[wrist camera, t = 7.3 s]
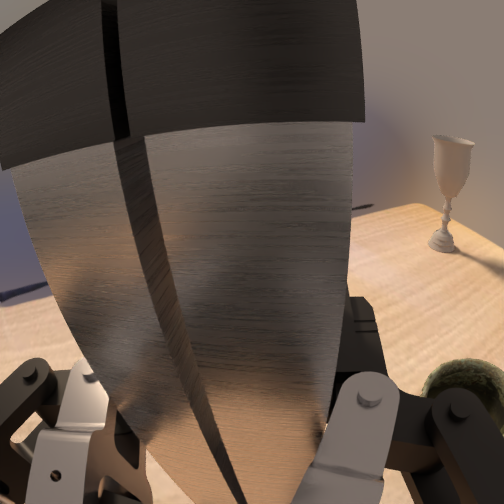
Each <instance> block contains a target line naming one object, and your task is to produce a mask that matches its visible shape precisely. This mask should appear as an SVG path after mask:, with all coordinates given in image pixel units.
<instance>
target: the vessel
mask: <svg viewBox="0 0 504 504" xmlns="http://www.w3.org/2000/svg"><path fill="white" fill-rule="evenodd" d="M449 388H463V389H466V390H469V391H471V392H472V393H474V394H475V395H476V396H477V397H478V398H479V399H480V401H481V402H482V404H483V405H484V407H485V408H486V410H487V411H488V413H489V414H490V416H491V417H492V419H493V421H494V422H495V424H496V425H497V427H498V428H499V430H500V432H501V433H502V435H503V436H504V372H503V371H502V370H501V369H499V368H498V367H496V366H495V365H493V364H491V363H489V362H486V361H483V360H479V359H471V358H469V359H457V360H452V361H449V362H446V363H443V364H441V365H440V366H439V367H438V368H436V369H435V370H434V371H433V372H432V373H431V374H430V375H429V376H428V378H427V380H426V382H425V384H424V387H423V388H422V391H423V392H422V394H421V395H420V397H426V398H431V399H435V398H436V397H437V396H438V395H439V394H440V393H441V392H443V391H444V390H447V389H449Z"/></svg>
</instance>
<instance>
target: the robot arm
mask: <svg viewBox="0 0 504 504" xmlns="http://www.w3.org/2000/svg"><path fill="white" fill-rule="evenodd" d="M34 412H36V413H37V414H38V415H39V416H40V417H41V418H42V420H43V421H42V422H41V423H40V424H39V425H38V426H37V427H36V428H35V429H34V430H33V431H32V432H31V433H30V434H29V435H28V437H27V438H26V439H25V440H24V441H23V442H21V443H13V442H12V441H11V440H10V438H11V436H12V435H13V434H14V433H15V431H16V430H17V429H18V428H19V427H20V426H21V425H22V424H23V423H24V422H25V421H26V420H27V419H28V418H29V417H30V416H31V415H32V414H33V413H34ZM326 423H328V425H327V428H326V430H325V433H324V435H323V438H322V440H321V443H320V445H319V448H318V450H317V453H316V455H315V457H314V459H313V461H312V463H311V464H310V465H309V466H308V468H307V470H306V472H305V474H304V476H303V478H302V480H301V483H300V485H299V487H298V489H297V491H296V493H295V495H294V497H293V499H292V501H291V503H290V504H379V502H380V499H381V496H382V492H383V487H384V479H383V471H384V468H388V469H393V470H398V471H401V474H402V476H403V478H404V481H405V483H406V485H407V487H408V490H409V492H410V494H411V497H412V499H413V501H414V504H504V436H503V435H502V433H501V432H500V430H499V428H498V427H497V425H496V424H495V422H494V421H493V419H492V417H491V416H490V414H489V413H488V411H487V410H486V408H485V407H484V405H483V404H482V402H481V401H480V399H479V398H478V397H477V396H476V395H475V394H474V393H472V392H471V391H469V390H466V389H463V388H449V389H447V390H444V391H443V392H441V393H440V394H439V395H438V396H437V397H436V398H435V399H431V398H426V397H420V396H415V395H411V394H408V393H405V392H403V391H402V390H400V389H399V388H398V387H397V386H396V384H395V383H394V382H393V380H391V379H390V378H389V376H388V373H387V369H386V364H385V359H384V355H383V350H382V345H381V341H380V337H379V333H378V328H377V324H376V322H375V315H374V311H373V307H372V306H371V305H370V304H369V303H368V302H367V300H366V299H365V298H364V297H350V296H349V291H348V285H347V284H346V294H345V304H344V313H343V321H342V329H341V337H340V344H339V352H338V358H337V365H336V371H335V378H334V384H333V389H332V395H331V401H330V406H329V411H328V417H327V422H326ZM24 503H25V504H153V497H152V491H151V487H150V484H149V482H148V480H147V476H146V446H145V444H144V443H143V442H142V441H141V439H140V438H138V437H137V436H136V435H135V433H134V432H133V431H132V429H131V428H130V427H129V425H128V424H127V422H126V421H125V420H124V418H123V417H122V415H121V414H120V412H119V411H118V410H117V406H116V404H115V403H114V401H113V400H112V398H111V397H110V395H108V394H107V393H106V391H105V390H104V388H103V387H102V385H101V384H100V382H99V380H98V379H97V377H96V375H95V374H94V372H93V370H92V369H91V367H90V365H89V364H88V362H87V360H86V358H85V357H83V358H81V359H80V360H78V361H77V362H76V363H75V364H74V366H73V367H72V369H71V370H59V371H53V370H52V369H51V367H50V366H49V364H48V363H47V361H46V360H44V359H42V358H32V359H29V360H27V361H26V362H24V363H23V364H22V365H20V366H19V367H18V368H17V369H16V370H15V371H14V372H13V373H12V374H11V375H10V376H9V377H8V378H7V379H5V380H4V381H3V382H2V383H1V384H0V504H24Z"/></svg>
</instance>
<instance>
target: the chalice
mask: <svg viewBox="0 0 504 504" xmlns="http://www.w3.org/2000/svg"><path fill="white" fill-rule="evenodd" d="M432 137H433V140H434V143H435V151H434V171H435V175H436V179H437V182H438V185H439V188H440V191H441V193H442V194H443V195H444V196H445V197H446V202H445V205H444V206H443V209H444V215H443V216H442V217H441V219H442V227H441V228H440V230H436V231H435V232H434V233H433V235H432V236H431V239H430V240H429V241H428V245H429V246H430V247H431V248H432V249H434V250H436V251H439V252H444V253H448V252H452V251H454V249H455V247H454V242H453V237H452V235H451V233H450V232H448V230H447V225H448V222H449V221H451V219H450V218H449V213H450V211H451V210H452V208H451V199H452V198H453V197H457V195H458V194H459V192H460V191H461V189H462V188H463V186H464V184H465V182H466V180H467V178H468V175H469V170H470V159H471V149H472V148H473V146H474V143H473V142H471V141H468V140H465V139H461V138H456V137H450V136H442V135H433V136H432Z"/></svg>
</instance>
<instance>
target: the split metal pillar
mask: <svg viewBox="0 0 504 504" xmlns="http://www.w3.org/2000/svg"><path fill="white" fill-rule="evenodd" d="M363 78H364V77H363V63H362V49H361V39H360V28H359V19H358V11H357V3H356V0H49V1H47V2H46V3H44V4H42V5H41V6H39V7H38V8H36V9H35V10H33V11H32V12H30V13H29V14H27V15H26V16H24V17H23V18H21V19H20V20H19V21H17V22H16V23H15V24H13V25H12V26H10V27H9V28H8V29H6V30H5V31H4V32H3V33H1V34H0V163H1V167H2V170H6V169H9V168H11V172H12V176H13V180H14V184H15V188H16V192H17V196H18V199H19V203H20V206H21V210H22V213H23V216H24V219H25V222H26V226H27V228H28V231H29V235H30V237H31V240H32V243H33V246H34V249H35V251H36V254H37V257H38V259H39V262H40V264H41V267H42V269H43V272H44V274H45V277H46V279H47V282H48V284H49V286H50V289H51V291H52V293H53V295H54V298H55V300H56V302H57V304H58V306H59V308H60V311H61V313H62V315H63V317H64V319H65V321H66V323H67V325H68V327H69V329H70V331H71V333H72V335H73V337H74V338H75V340H76V342H77V344H78V346H79V348H80V350H81V351H82V353H83V355H84V357H85V358H86V360H87V362H88V364H89V365H90V367H91V369H92V370H93V372H94V374H95V375H96V377H97V379H98V380H99V382H100V384H101V385H102V387H103V388H104V390H105V391H106V393H107V394H108V395H110V397H111V398H112V400H113V401H114V403H115V404H116V406H117V410H118V411H119V412H120V414H121V415H122V417H123V418H124V420H125V421H126V422H127V424H128V425H129V427H130V428H131V429H132V431H133V432H134V433H135V435H136V436H137V437H138V438H140V439H141V441H142V442H143V443H144V444H145V446H146V449H147V450H148V451H149V453H150V454H151V455H152V456H153V458H154V459H155V460H156V461H157V462H158V464H159V465H160V466H161V467H162V468H163V470H164V471H165V472H166V473H167V474H168V475H169V477H170V478H171V479H172V480H173V481H174V482H175V483H176V484H177V485H178V487H179V488H180V489H181V490H182V491H183V492H184V493H185V494H186V495H187V496H188V497H189V498H190V499H191V500H192V501H193V502H194V503H195V504H290V503H291V501H292V499H293V497H294V495H295V493H296V491H297V489H298V487H299V485H300V483H301V480H302V478H303V476H304V474H305V472H306V470H307V468H308V466H309V465H310V464H311V463H312V461H313V459H314V457H315V455H316V453H317V450H318V448H319V445H320V443H321V440H322V438H323V435H324V431H325V427H326V422H327V417H328V411H329V406H330V401H331V395H332V389H333V384H334V378H335V371H336V365H337V358H338V352H339V344H340V337H341V329H342V321H343V313H344V304H345V294H346V284H347V273H348V261H349V247H350V231H351V210H352V177H353V174H352V173H353V133H352V122H365V100H364V79H363Z"/></svg>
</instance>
